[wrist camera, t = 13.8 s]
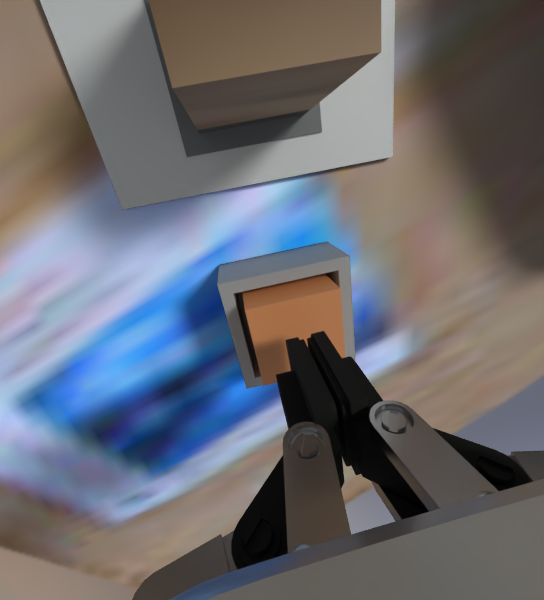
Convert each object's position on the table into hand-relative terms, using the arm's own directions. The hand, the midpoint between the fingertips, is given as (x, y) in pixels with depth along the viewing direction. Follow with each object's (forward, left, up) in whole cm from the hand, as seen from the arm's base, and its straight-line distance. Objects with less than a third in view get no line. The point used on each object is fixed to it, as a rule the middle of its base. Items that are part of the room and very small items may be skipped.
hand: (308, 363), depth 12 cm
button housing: (0, 0, -6) cm, 6 cm away
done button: (0, 0, -4) cm, 4 cm away
